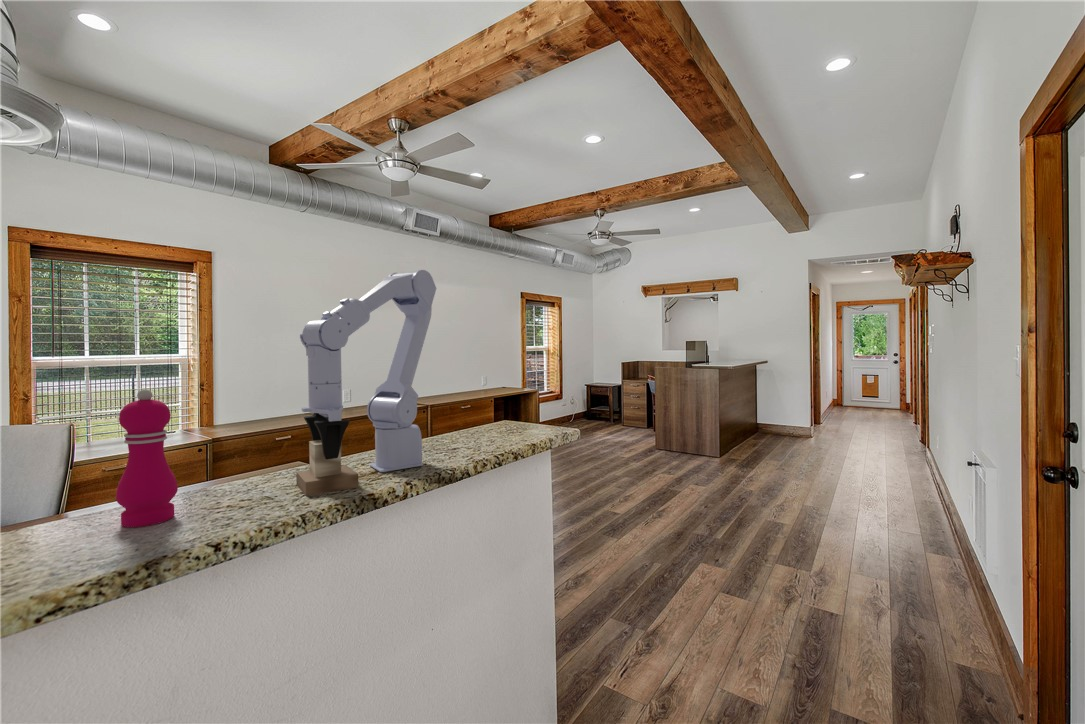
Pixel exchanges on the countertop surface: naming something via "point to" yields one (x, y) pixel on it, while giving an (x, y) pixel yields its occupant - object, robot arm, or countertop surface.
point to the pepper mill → (146, 464)
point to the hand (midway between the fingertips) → (326, 454)
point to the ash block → (322, 461)
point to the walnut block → (326, 481)
